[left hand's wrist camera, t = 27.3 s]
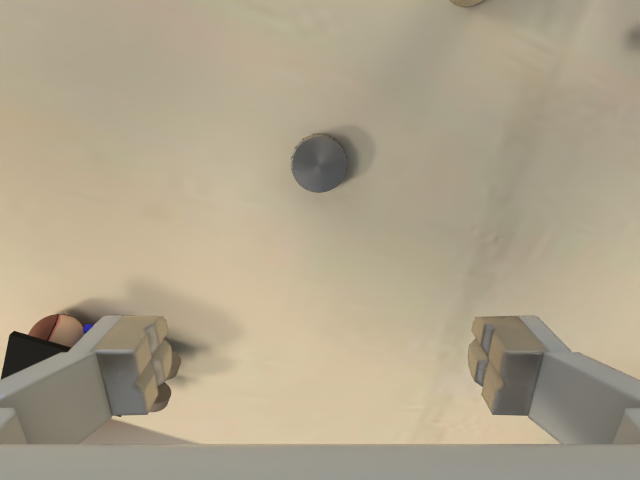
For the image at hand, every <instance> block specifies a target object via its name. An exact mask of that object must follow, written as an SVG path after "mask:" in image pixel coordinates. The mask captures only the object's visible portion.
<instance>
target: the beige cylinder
mask: <svg viewBox="0 0 640 480" xmlns="http://www.w3.org/2000/svg"><path fill="white" fill-rule="evenodd" d="M451 1H452V2H453V3H454V4H456V5H458V6H462V7H471V6H474V5H476V4H478V3H480V2H482V1H484V0H451Z"/></svg>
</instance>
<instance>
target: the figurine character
mask: <svg viewBox="0 0 640 480" xmlns="http://www.w3.org/2000/svg"><path fill="white" fill-rule="evenodd" d="M92 327H93V325H92V324H86V325H85V326H84V328H83V327H82V325H81V323H80V322H79V321H78V320H77V319H75V318H73V317H71V316H69V315H64V314H56V315H51V316H48V317H45V318H43V319H41V320H40V321H39V322H37V323H36V324H35V325H34V326H33V328H32V329H31V330H30V332H29V335H26V334H23V333H19V332H16V331H14V332H12V333H11V334H10V336H9V341H8V346H7V351H6V356H5V361H4V366H3V371H2V376H1V380H2V379H4V378H6V377H8V376H10V375H13V374H15V373H17V372H19V371H21V370H24V369H26V368H28V367H30V366H32V365H35V364H37V363H39V362H41V361H43V360H45V359H48V358H50V357H52V356H54V355H56V354H59V353H61V352H68V351H69V350H70V349H71V348H72V347H73V346H74V345H75V344H76V343H77V342H78V341H79V340H80V339H81V338H82V337H83V336H84V335H85V334H86V333H87V332H88V331H89V330H90V329H91V328H92ZM180 364H181V359H180V357H179V356H178V354H176V353H175V352H174V351H172V364H171V369H170V373H169V375H168V377H167V379H166V380H168V379H171V378H173V377H174V376H175V375H176V374H177V372H178V369H179V366H180ZM157 389H158V396H157V398H156V400H155V402H154V404H153V405H152V407H151V409H150V411H149V412H157V411H160V410H162V409H164V408H165V407H166V406H167V404H168V401H169V399H170V396H171V389H170V387H169V386H168V385H167V384H166V383H162V384H161V385H159V386H158V387H157ZM117 416H119V417H121V415H117Z"/></svg>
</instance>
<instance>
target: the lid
mask: <svg viewBox="0 0 640 480" xmlns="http://www.w3.org/2000/svg"><path fill="white" fill-rule="evenodd" d="M346 159H347V157H346V156H345V153H344V151H343V147H342V146H340V144H339V143H338V142H337V141H336V140H335V138H334V139H333V138H331V137H329V136H327V135H325V134H324V135H321V134H317V135H314V134H313V135H311V136H309V137H307V138H305V139H304V138H303V140H302V141H301V142H300V143H299V144H298V146H296V147H295V151H294V154H293V156H292V158H291V160H292V161H291V168H292V169H291V171H292V173H293V176H294V178H295V179H296V181H297V182H298V183H299V184H300V185H301V186H302V187H303V188H305V189H307V190H309V191H312V192H326V191H329V190H331V189H333V188H335V187H336V186H337V185H338V184H339V183H340V182H341V181H342V180H343V178H344V176H345V173H346V170H347V161H346Z"/></svg>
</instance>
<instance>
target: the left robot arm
mask: <svg viewBox="0 0 640 480" xmlns="http://www.w3.org/2000/svg"><path fill="white" fill-rule="evenodd" d="M167 332H168V326H167V321H166V319H165V318H164V317H163V316H124V315H115V316H103V317H101V318H100V320H99V321H98V322H97V323H96V324H95V325H94V326H93V327H92V328H91V329H90V330H89V331H88V332H87V333H86V334H85V335H84V336H83V337H82V338H81V339H80V340H79V341H78V342H77V343H76V344H75V345H74V346H73V347H72V348H71V349H70V350H69V351H68V352H61V353H59V354H56V355H54V356H52V357H50V358H48V359H45V360H43V361H41V362H39V363H37V364H35V365H32V366H30V367H28V368H26V369H24V370H21V371H19V372H17V373H15V374H13V375H10V376H8V377H6V378H4V379H2V380H0V480H640V380H638V379H636V378H634V377H632V376H629V375H627V374H625V373H623V372H621V371H619V370H616V369H614V368H612V367H610V366H608V365H605V364H603V363H601V362H599V361H597V360H594V359H592V358H590V357H588V356H586V355H584V354H581V353H579V352H572V351H571V350H570V349H569V348H568V347H567V346H566V345H565V344H564V343H563V342H562V341H561V340H560V339H559V338H558V337H557V336H556V335H555V334H554V333H553V332H552V331H551V330H550V329H549V328H548V327H547V326H546V325H545V324H544V322H543V321H542V320H541V319H540V318H539V317H537V316H534V315H525V316H495V317H475V319H474V321H473V325H472V332H473V334H474V336H475V337H476V339H475V340H474V341H473V342H472V343H471V344H470V345H469V350H468V364H469V369H470V372H471V375H472V377H473V379H474V381H475V382H476V383H478V384H479V385H481V386H482V387H483V389H482V396H483V398H484V400H485V402H486V403H487V405H488V407H489V409H490V411H491V413H492V415H523V416H528V418H530V419H531V420H532V421H533V422H535V423H536V424H537V425H538V426H540V427H541V428H542V429H543V430H545V431H546V432H547V433H548V434H550V435H551V436H552V437H553V438H555V439H556V440H557V441H558V442H560V443H561V444H79V443H80V442H82V441H83V440H84V439H85V438H87V437H88V436H89V435H90V434H92V433H93V432H94V431H95V430H97V429H98V428H99V427H101V426H102V425H103V424H104V423H106V422H107V421H108V420H109V419H111V418H112V416H117V415H148V413H149V411H150V409H151V407H152V405H153V404H154V402H155V400H156V398H157V396H158V389H157V387H158V386H159V385H161V384H162V383H164V382H165V381H166V379H167V377H168V375H169V373H170V369H171V364H172V350H171V345H170V344H169V343H168V342H167V341H166V340H165V339H164V337H165V336H166V334H167Z"/></svg>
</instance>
